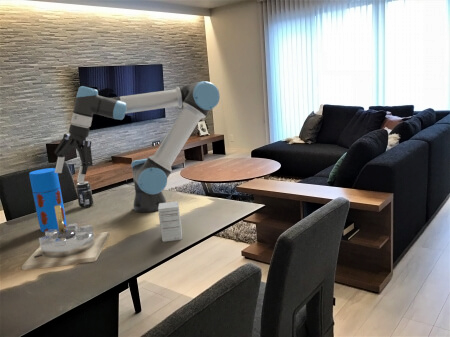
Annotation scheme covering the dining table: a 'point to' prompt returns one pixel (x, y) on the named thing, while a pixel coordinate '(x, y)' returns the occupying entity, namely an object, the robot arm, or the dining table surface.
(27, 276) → the dining table surface
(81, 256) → the birch base board
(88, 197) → the beverage can
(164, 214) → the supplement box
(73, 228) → the metal lathe chuck
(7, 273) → the dining table surface
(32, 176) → the thermos
